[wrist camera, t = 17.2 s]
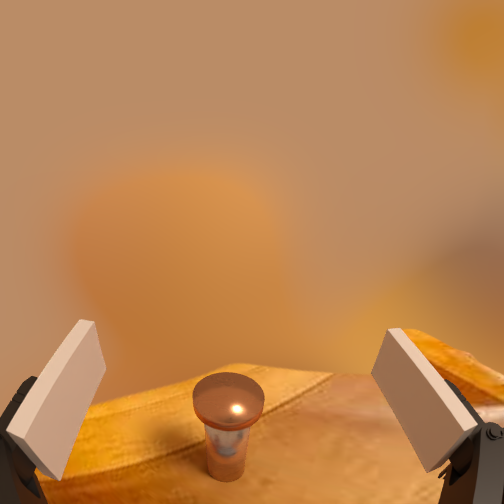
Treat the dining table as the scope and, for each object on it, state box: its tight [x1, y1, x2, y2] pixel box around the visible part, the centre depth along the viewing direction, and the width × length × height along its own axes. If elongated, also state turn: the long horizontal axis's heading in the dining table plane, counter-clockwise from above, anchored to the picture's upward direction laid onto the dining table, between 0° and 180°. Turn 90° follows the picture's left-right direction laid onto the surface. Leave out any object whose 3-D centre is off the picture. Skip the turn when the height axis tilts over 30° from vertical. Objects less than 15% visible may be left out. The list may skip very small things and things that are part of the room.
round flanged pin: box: [193, 372, 264, 482], centre depth 28 cm, size 7×7×16 cm
